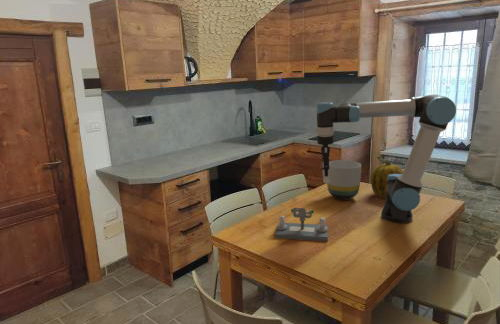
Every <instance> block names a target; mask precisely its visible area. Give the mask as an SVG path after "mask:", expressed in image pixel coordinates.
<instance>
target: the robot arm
mask: <svg viewBox="0 0 500 324" xmlns="http://www.w3.org/2000/svg"><path fill="white" fill-rule="evenodd" d="M456 114H457V107H456V104H455V102H454V101H453V100H452V99H450V98H449V97H448V96H444V95H439V94H427V95H421V96H412V97H411V98H410V99H398V100H397V99H396V100H381V101H380V100H379V101H366V102H364V101H363V102H352V103H351V102H343V103H341V104H340V105H339V106H334V103H333V102H331V101H330V102H327V101H326V102H324V101H323V102H319V103H317V105H316V129H315V131H316V133H317V134H316V135H317V136H316V137H317V138H316V139H317V141H316V143H317V144H318V145H321V146H320V147H321V148H320V150H321V157H322V158H321V160H322V161H321V162H322V167H321V170H322V179H323V183H324V184H327V183H329V162H330V151H331V148H330V146H329V145H333V143H334V124H336V123H358V122H359V121H360V120H361V119H364V118H384V117H387V118H388V117H406V116H407V117H408V116H410V117H411V118H419V119H418V124H419V126H420V127H419V129H418V132H417V135H416V137H415V140H414V142H413V145H412V148H411V150H410V153H409V156H408V158H407V160H406V161H407V162H406V164H405V167H404V169H403V173H402V174H390V175H388V176H387V180H386V181H387V186H386V198H385V202H384V205H383V207H382V210H381V213H380V217H381V219H383V220H384V221H387V222H391V223H395V224H396V223H397V224H407V223H410V222H412V221H413V212H412V210H414V209H416V208H417V207H418V206H419V204H420V203H421V195H420V194H421V191H422V189H423V186H424V185H423V183H422V179H423V177H424V174H425V172H426V169H427V166H428V164H429V162H430V159H431V157H432V154H433V152H434V149H435V147H436V144H437V141H438V139H439V138H440V137H439V136H440V134H441V132H444V131H446V130H447V127H448V124H449V123H450V122H451V121H453V120H454V119H455V117H456Z"/></svg>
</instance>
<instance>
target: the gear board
mask: <svg viewBox="0 0 500 324" xmlns="http://www.w3.org/2000/svg"><path fill="white" fill-rule="evenodd" d="M285 219H286V218H285V216H284V215H280V216H279V222H278V224H277V225H276V230H275V232H274V238H275V239H283V240H284V239H286V240H299V241H300V240H301V241H315V242H316V241H319V242H328V241H329V240H328V239H329V235H328V231H329V229H328V228H329V227H328V224H326V218H325V217H320V218H319V224H316V223H304V229H303V230H301V223H299V222H297V223H295V222H285Z"/></svg>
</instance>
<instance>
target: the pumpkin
mask: <svg viewBox="0 0 500 324" xmlns="http://www.w3.org/2000/svg"><path fill="white" fill-rule="evenodd" d="M381 157H382V156H381V155H379V154H378V155H377V157H376V159H377V160H379V161H380V162H382V164H378V165H377V166H375V168H374V169H373V170H372V172H371V176H370V185H371V189H372V191H373V193H374V194H375V195H376V196H377V197H380V198H384V199H386V186H387V181H386V180H387V176H388V175H390V174H402V173H403V171H404V169H402V168H401V167H400V166H399V165H397V164H392V163H390V161H388V160H387V159H385V158H381Z"/></svg>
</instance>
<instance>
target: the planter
mask: <svg viewBox="0 0 500 324" xmlns="http://www.w3.org/2000/svg"><path fill="white" fill-rule="evenodd" d="M361 175H362V164H361V162H357V161H354V160H348V159H347V160H346V159H340V160H339V159H337V160H331V161H330V160H329V183H326V185H327V190H328V193H329V194H330V196H332V197H333V198H335V200H339V201H348V200H351V199H353V198H355V197H356V196H357V195H358V194H359V193H358V192H359V190H360V188H361V187H360V186H361V178H362V176H361Z"/></svg>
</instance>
